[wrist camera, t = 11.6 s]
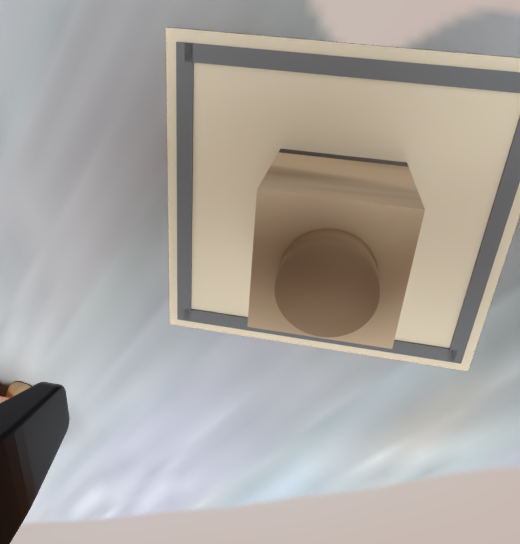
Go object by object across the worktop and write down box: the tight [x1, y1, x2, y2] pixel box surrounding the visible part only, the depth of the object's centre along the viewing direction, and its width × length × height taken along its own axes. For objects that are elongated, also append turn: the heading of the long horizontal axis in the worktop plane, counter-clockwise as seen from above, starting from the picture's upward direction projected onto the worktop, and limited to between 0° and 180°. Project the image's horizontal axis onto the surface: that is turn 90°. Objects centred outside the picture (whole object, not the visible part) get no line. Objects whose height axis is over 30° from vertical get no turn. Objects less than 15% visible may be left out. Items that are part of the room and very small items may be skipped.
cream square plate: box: [166, 27, 520, 371], centre depth 19 cm, size 13×12×1 cm
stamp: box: [247, 149, 425, 349], centre depth 16 cm, size 4×4×6 cm
